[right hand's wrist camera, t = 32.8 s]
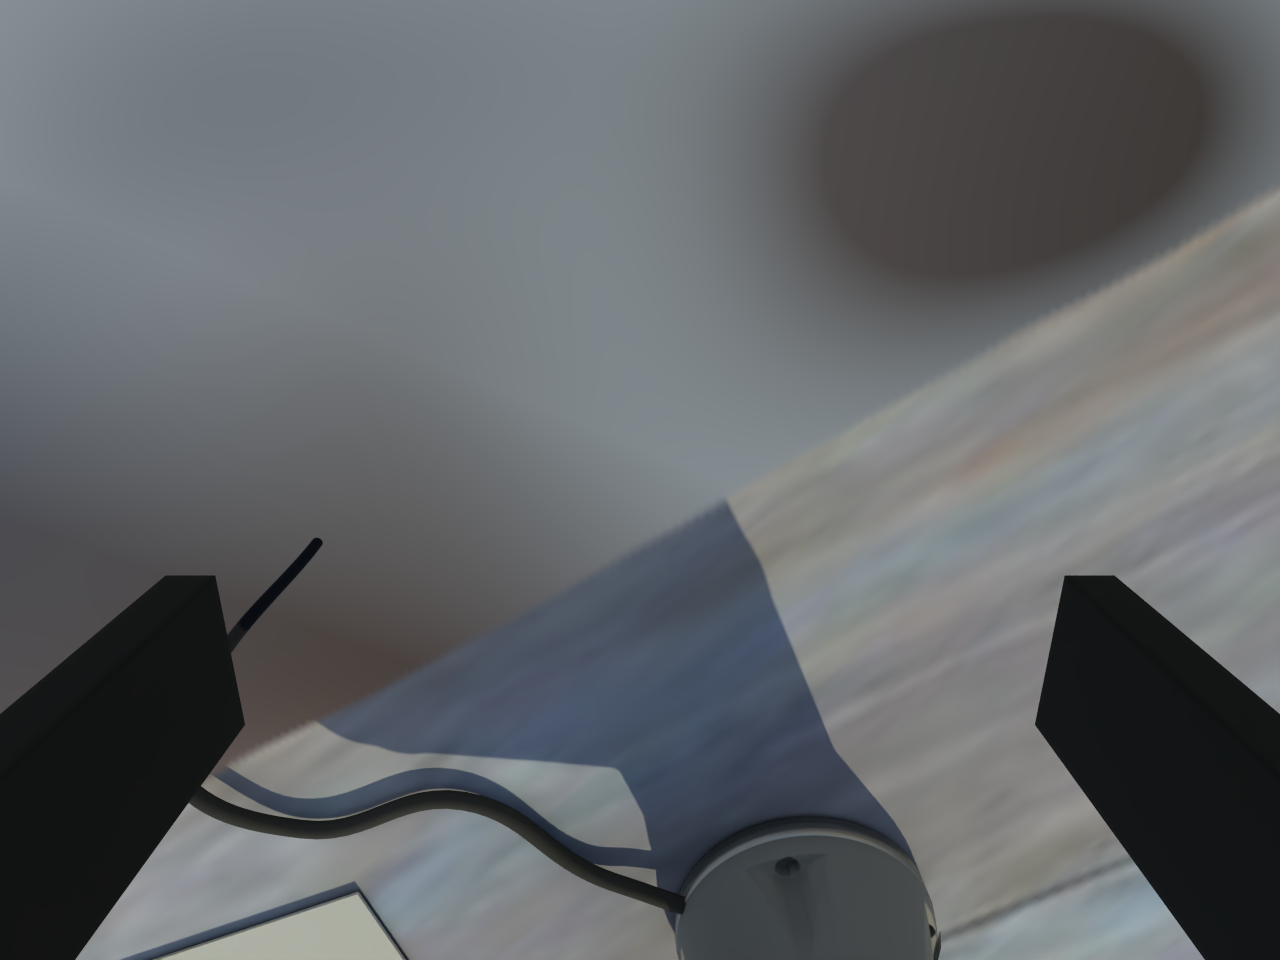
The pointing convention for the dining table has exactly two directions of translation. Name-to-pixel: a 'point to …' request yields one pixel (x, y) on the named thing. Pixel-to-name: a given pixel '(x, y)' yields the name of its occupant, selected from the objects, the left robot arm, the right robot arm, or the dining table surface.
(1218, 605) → the dining table surface
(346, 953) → the invitation card
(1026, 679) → the dining table surface
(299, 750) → the dining table surface
